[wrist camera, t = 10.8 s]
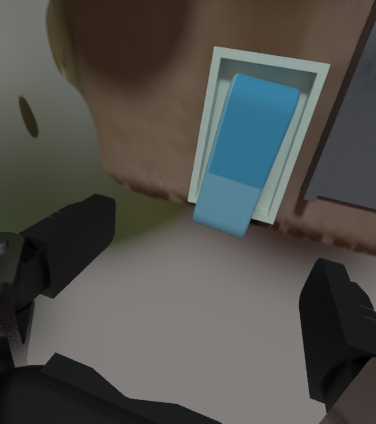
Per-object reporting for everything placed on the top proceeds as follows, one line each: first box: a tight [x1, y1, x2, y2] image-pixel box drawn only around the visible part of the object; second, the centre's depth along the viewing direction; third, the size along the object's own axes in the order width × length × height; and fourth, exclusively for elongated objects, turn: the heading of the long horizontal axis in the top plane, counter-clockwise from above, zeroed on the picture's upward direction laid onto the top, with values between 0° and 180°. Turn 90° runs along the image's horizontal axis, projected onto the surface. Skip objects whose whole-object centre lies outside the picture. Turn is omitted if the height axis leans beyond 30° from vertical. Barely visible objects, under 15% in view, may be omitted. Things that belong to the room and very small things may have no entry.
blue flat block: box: [193, 73, 300, 238], centre depth 24 cm, size 12×4×12 cm, turn 166°
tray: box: [188, 46, 331, 224], centre depth 29 cm, size 11×17×2 cm, turn 170°
